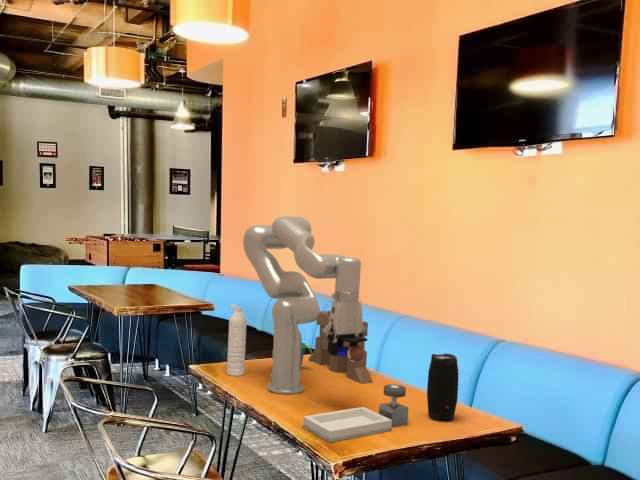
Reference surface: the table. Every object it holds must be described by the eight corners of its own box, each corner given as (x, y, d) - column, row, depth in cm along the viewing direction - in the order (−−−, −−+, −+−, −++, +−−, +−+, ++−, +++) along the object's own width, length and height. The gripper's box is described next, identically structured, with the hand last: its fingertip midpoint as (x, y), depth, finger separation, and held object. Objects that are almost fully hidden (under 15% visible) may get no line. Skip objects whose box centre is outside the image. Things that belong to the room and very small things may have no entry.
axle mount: (378, 420, 177) (379, 404, 176) (394, 418, 180) (394, 401, 180) (391, 427, 172) (392, 410, 171) (407, 424, 175) (408, 407, 175)
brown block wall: (303, 360, 250) (306, 306, 250) (320, 358, 255) (323, 305, 254) (359, 384, 216) (362, 322, 216) (378, 382, 221) (381, 321, 220)
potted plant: (312, 367, 238) (313, 342, 238) (310, 374, 228) (311, 347, 227) (273, 365, 239) (274, 339, 239) (269, 371, 229) (270, 344, 228)
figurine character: (319, 358, 189) (353, 364, 178) (319, 334, 190) (352, 338, 178) (335, 356, 194) (369, 361, 182) (334, 332, 194) (368, 336, 183)
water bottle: (247, 375, 221) (250, 307, 221) (231, 377, 218) (234, 308, 217) (236, 369, 229) (239, 304, 228) (221, 371, 225) (223, 305, 224)
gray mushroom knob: (378, 409, 177) (379, 384, 176) (394, 406, 180) (396, 382, 180) (392, 415, 171) (393, 390, 171) (409, 412, 175) (410, 388, 175)
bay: (302, 427, 168) (303, 416, 168) (362, 416, 180) (363, 406, 180) (329, 442, 157) (329, 431, 157) (391, 430, 169) (391, 420, 169)
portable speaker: (456, 423, 177) (459, 360, 177) (424, 420, 179) (428, 357, 179) (456, 415, 185) (459, 354, 185) (426, 411, 188) (429, 351, 187)
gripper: (330, 299, 177) (326, 359, 178) (376, 298, 187) (372, 354, 188) (316, 296, 184) (313, 353, 184) (361, 294, 193) (358, 349, 194)
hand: (343, 353), depth 186 cm, fingers closed on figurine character, 6 cm apart
